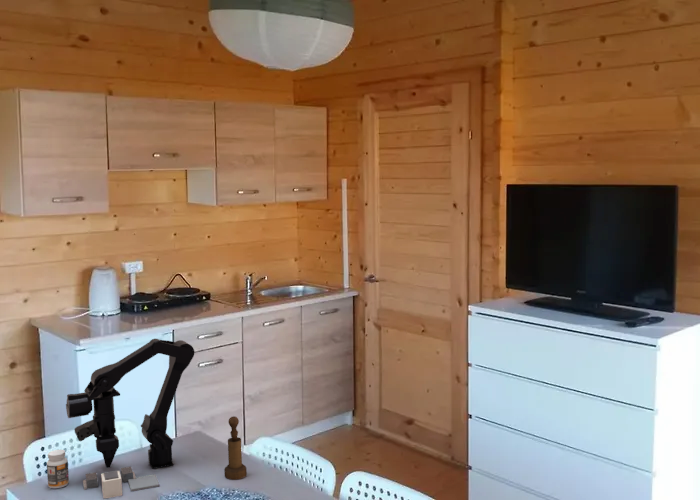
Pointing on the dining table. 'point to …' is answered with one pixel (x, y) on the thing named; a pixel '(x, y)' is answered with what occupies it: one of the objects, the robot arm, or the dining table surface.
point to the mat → (143, 482)
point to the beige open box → (111, 484)
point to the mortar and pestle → (234, 454)
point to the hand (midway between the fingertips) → (106, 462)
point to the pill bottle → (57, 469)
